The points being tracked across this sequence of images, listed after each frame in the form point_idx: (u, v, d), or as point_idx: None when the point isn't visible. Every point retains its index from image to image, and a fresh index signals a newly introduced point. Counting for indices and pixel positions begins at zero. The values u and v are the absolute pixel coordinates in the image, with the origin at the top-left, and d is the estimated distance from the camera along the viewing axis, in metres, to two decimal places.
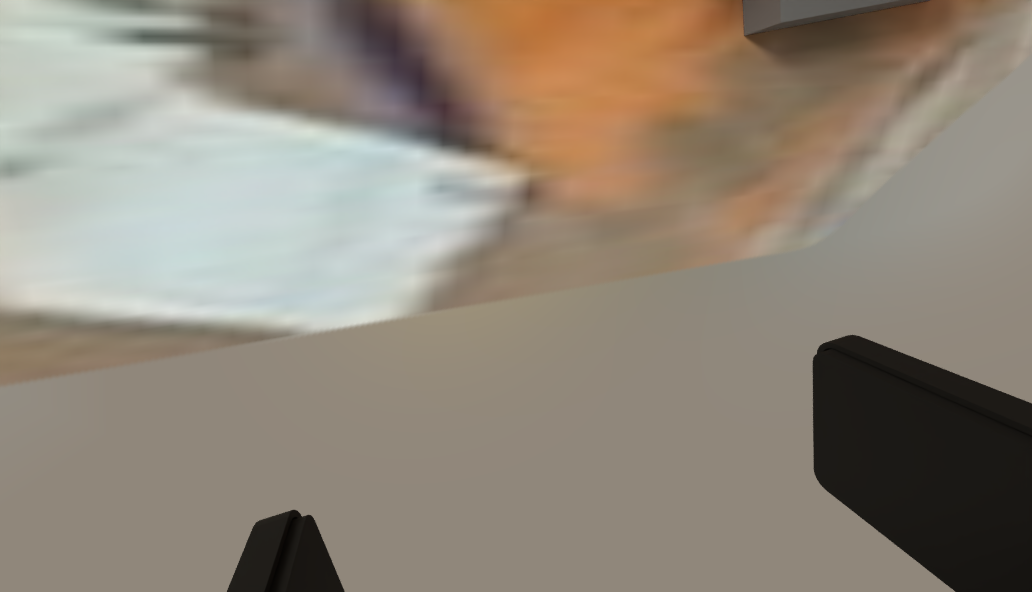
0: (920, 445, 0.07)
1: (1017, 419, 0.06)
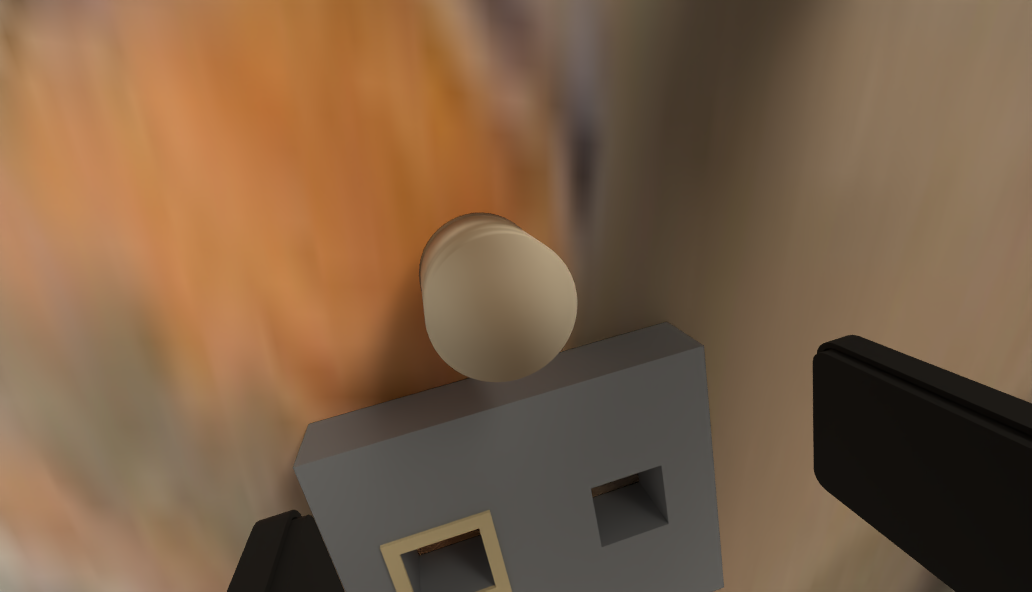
0: (920, 445, 0.07)
1: (1017, 419, 0.06)
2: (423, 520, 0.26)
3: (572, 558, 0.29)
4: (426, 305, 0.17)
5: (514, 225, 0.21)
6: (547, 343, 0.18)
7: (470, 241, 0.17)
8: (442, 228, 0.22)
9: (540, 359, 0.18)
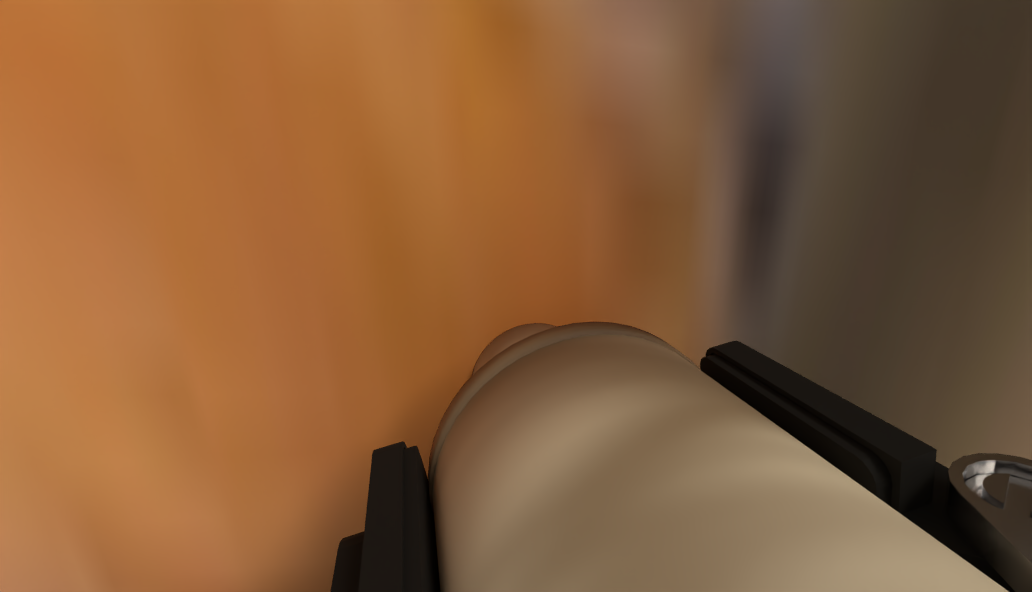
0: None
1: (837, 419, 0.07)
2: None
3: None
4: None
5: (713, 383, 0.07)
6: None
7: None
8: (493, 374, 0.08)
9: None
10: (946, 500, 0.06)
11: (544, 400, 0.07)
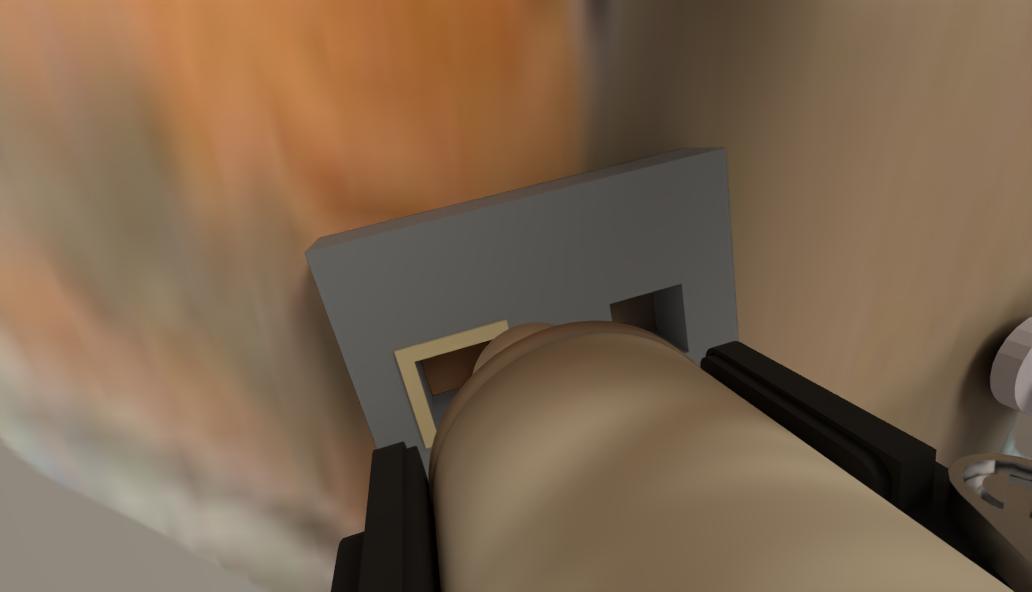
0: None
1: (837, 419, 0.07)
2: (438, 326, 0.25)
3: None
4: None
5: (715, 381, 0.07)
6: None
7: None
8: (494, 373, 0.08)
9: None
10: (946, 500, 0.06)
11: (545, 399, 0.07)
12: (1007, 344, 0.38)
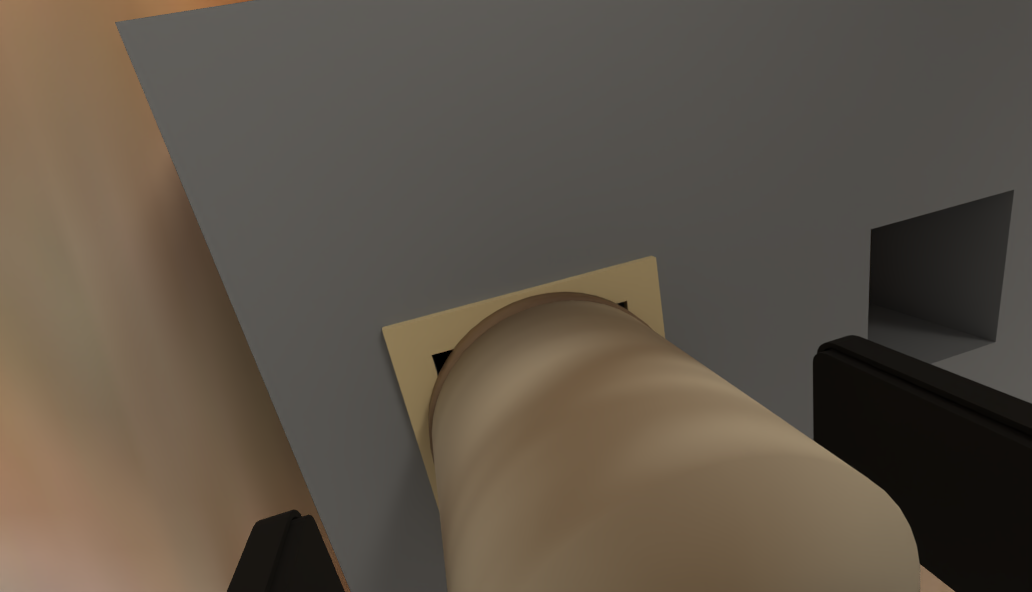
0: (920, 445, 0.07)
1: (1017, 419, 0.06)
2: (493, 265, 0.10)
3: (806, 407, 0.13)
4: None
5: (657, 335, 0.09)
6: None
7: (629, 488, 0.05)
8: (481, 332, 0.10)
9: None
10: None
11: (520, 346, 0.08)
12: None
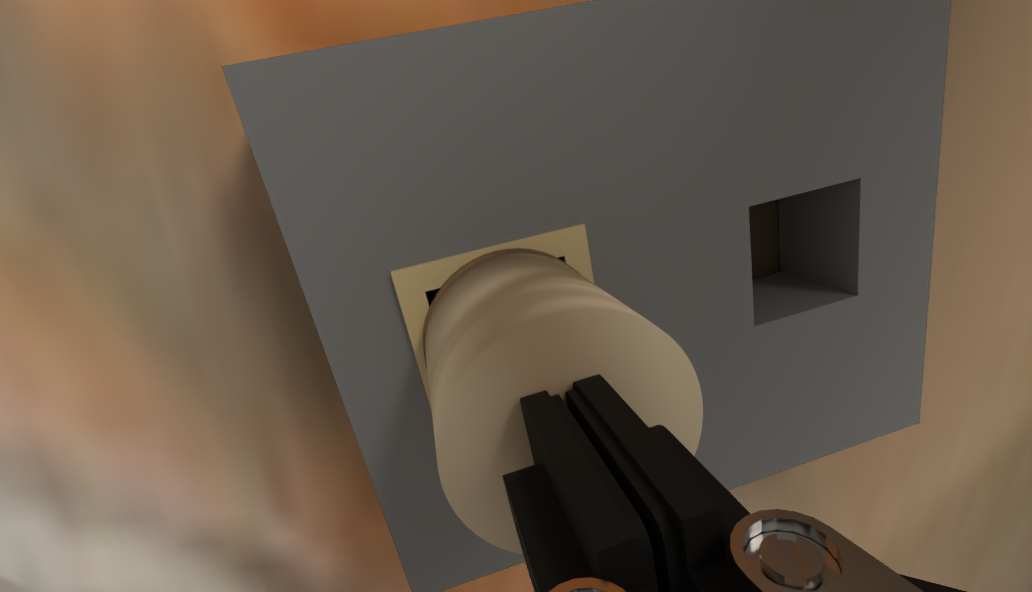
0: None
1: (648, 468, 0.07)
2: (468, 229, 0.14)
3: (708, 341, 0.17)
4: (440, 440, 0.09)
5: (575, 272, 0.13)
6: None
7: (522, 323, 0.09)
8: (459, 274, 0.14)
9: None
10: None
11: (482, 277, 0.13)
12: None
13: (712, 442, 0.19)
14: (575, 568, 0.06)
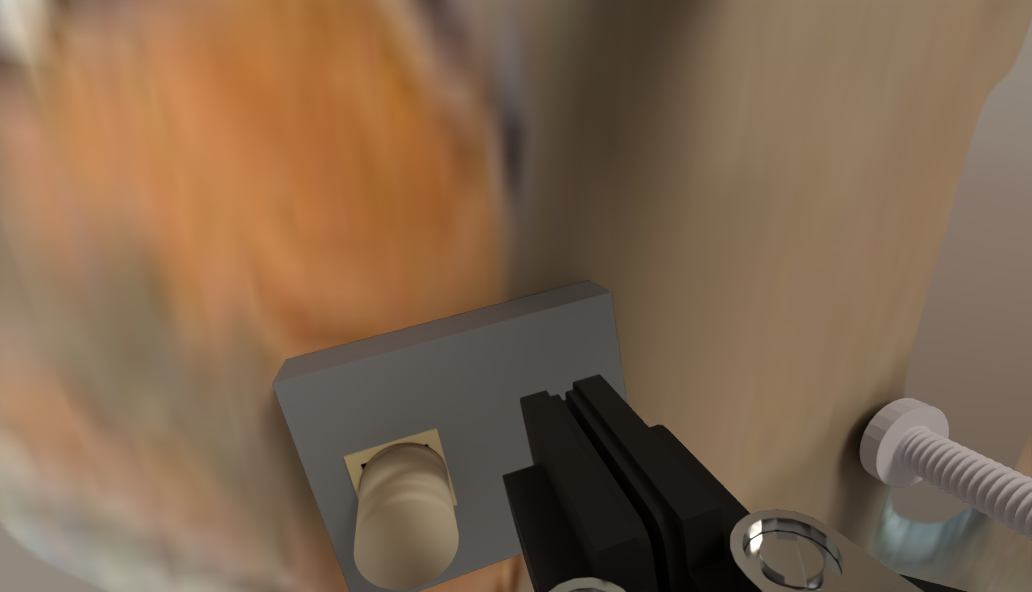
0: None
1: (648, 468, 0.07)
2: (380, 435, 0.31)
3: None
4: (354, 548, 0.26)
5: (424, 462, 0.30)
6: (439, 562, 0.27)
7: (383, 507, 0.26)
8: (375, 458, 0.31)
9: (434, 572, 0.27)
10: None
11: (382, 467, 0.29)
12: (870, 426, 0.45)
13: None
14: (575, 568, 0.06)
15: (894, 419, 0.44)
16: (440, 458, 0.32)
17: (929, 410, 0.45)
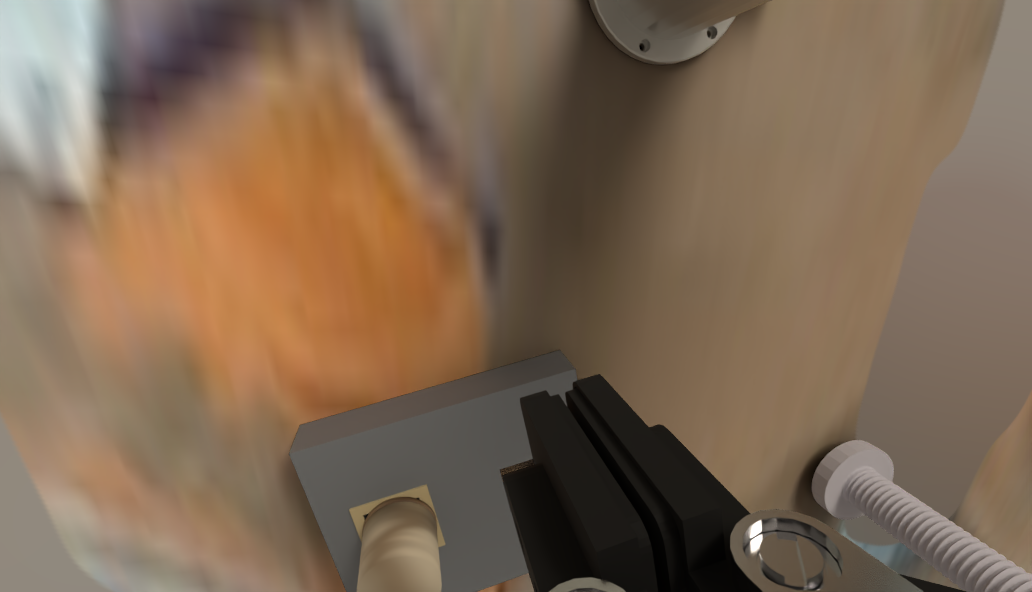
0: None
1: (649, 468, 0.07)
2: (379, 491, 0.37)
3: (489, 520, 0.40)
4: None
5: (415, 516, 0.36)
6: None
7: (379, 562, 0.32)
8: (375, 511, 0.37)
9: None
10: None
11: (380, 521, 0.35)
12: (821, 466, 0.50)
13: (498, 560, 0.41)
14: (575, 568, 0.06)
15: (841, 461, 0.49)
16: (429, 509, 0.38)
17: (874, 453, 0.50)
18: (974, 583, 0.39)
